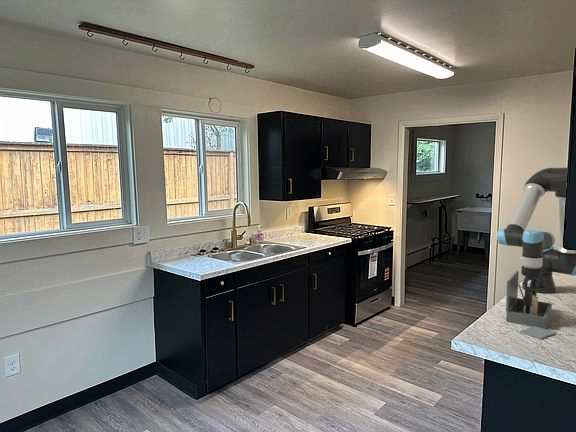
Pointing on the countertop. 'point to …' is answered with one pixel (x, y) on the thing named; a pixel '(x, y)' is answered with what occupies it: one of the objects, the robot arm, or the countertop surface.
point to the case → (516, 303)
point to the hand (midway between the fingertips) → (529, 316)
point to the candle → (534, 305)
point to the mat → (537, 332)
